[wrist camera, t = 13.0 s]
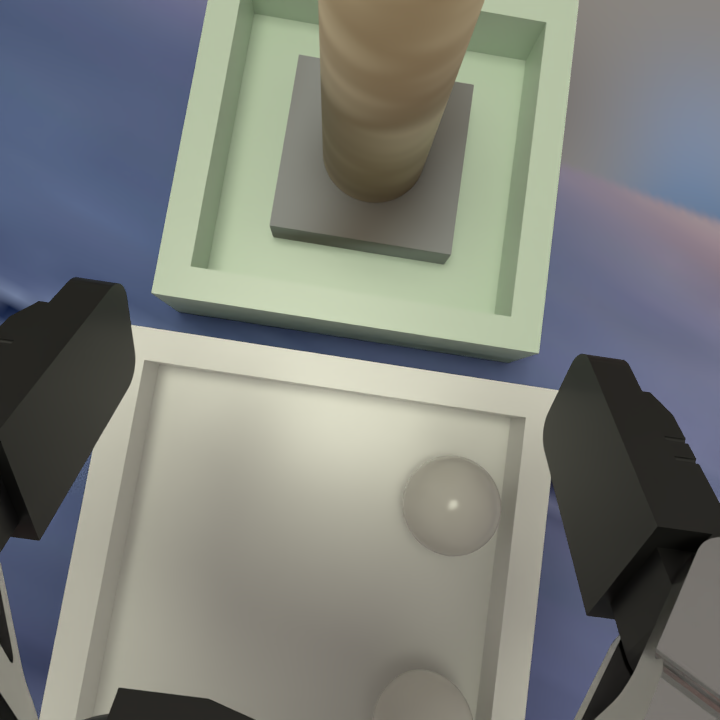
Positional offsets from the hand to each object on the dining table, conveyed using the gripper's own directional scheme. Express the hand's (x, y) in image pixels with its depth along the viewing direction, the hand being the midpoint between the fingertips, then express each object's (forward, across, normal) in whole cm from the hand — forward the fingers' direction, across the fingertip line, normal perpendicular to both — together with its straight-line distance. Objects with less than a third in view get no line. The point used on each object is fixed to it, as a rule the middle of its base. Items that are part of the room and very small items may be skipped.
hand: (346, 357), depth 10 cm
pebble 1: (+3, -4, +8) cm, 9 cm away
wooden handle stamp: (+12, 0, +1) cm, 12 cm away
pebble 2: (-2, -4, +12) cm, 13 cm away
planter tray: (+12, 0, +1) cm, 13 cm away
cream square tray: (+3, 0, +11) cm, 12 cm away
